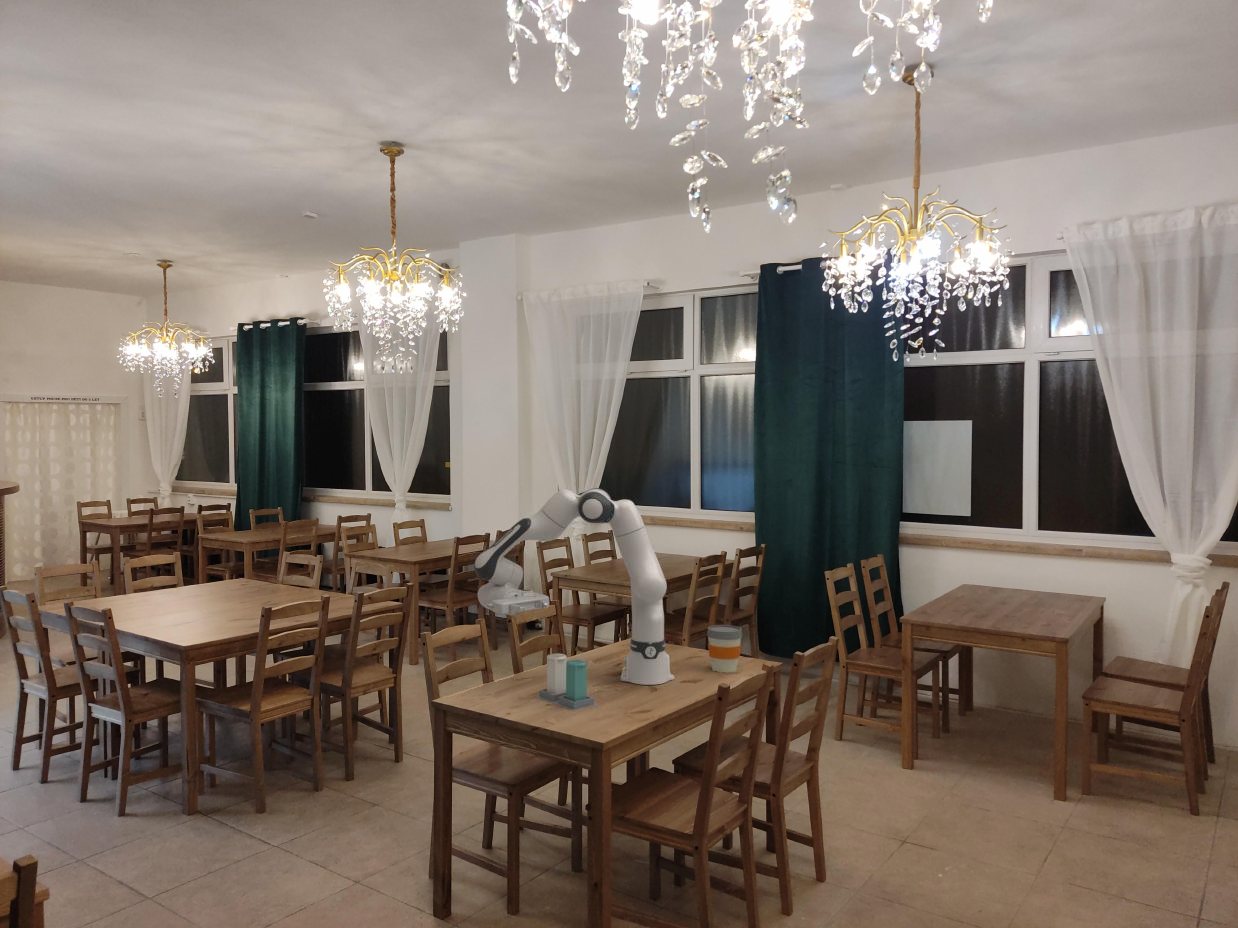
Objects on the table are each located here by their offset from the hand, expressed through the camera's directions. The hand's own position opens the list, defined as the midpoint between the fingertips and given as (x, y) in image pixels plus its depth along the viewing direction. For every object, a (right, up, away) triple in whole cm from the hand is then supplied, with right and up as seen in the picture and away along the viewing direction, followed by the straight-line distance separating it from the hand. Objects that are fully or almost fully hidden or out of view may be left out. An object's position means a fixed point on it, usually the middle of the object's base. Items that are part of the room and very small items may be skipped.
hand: (534, 607), depth 287 cm
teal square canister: (+14, -27, -16) cm, 34 cm away
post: (+8, -27, -8) cm, 29 cm away
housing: (+11, -28, -12) cm, 33 cm away
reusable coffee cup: (+66, -28, +32) cm, 78 cm away
